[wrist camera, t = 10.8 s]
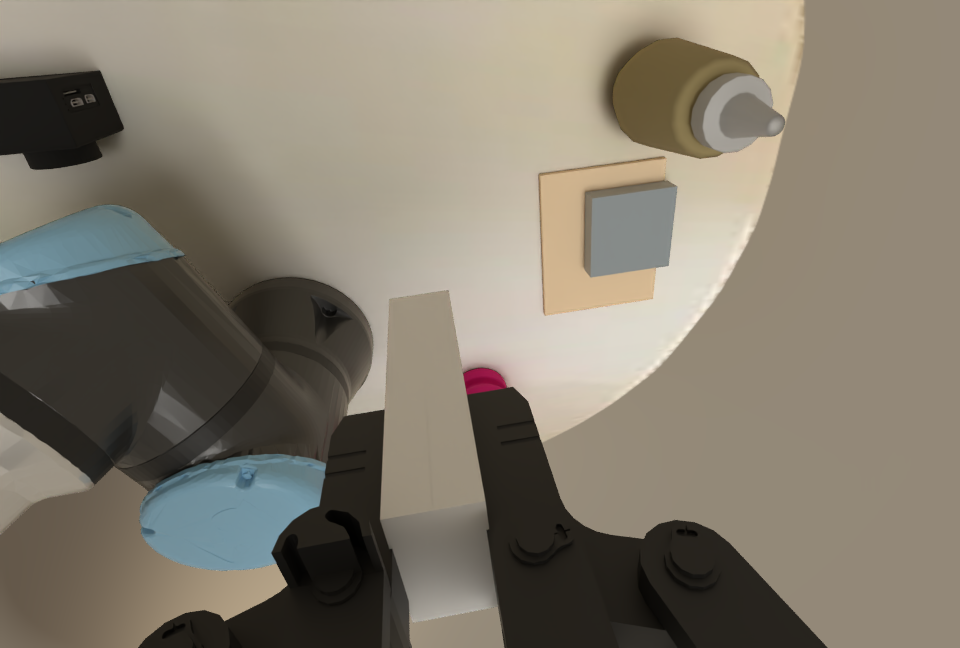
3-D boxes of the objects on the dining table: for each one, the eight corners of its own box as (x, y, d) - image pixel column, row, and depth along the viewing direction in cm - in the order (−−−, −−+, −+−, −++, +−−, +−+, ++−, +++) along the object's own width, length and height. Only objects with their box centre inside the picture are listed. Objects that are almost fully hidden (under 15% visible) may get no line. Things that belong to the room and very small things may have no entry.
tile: (590, 277, 49) (668, 265, 50) (592, 198, 45) (677, 186, 46) (583, 267, 51) (658, 256, 52) (584, 191, 47) (665, 179, 47)
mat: (543, 312, 54) (545, 315, 54) (538, 174, 46) (540, 175, 46) (650, 296, 55) (652, 298, 54) (663, 156, 47) (666, 158, 46)
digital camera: (-5, 157, 40) (-76, 181, 34) (-47, 82, 37) (-133, 94, 31) (132, 144, 41) (85, 166, 35) (100, 70, 38) (44, 79, 32)
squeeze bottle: (691, 121, 46) (837, 171, 30) (606, 150, 46) (709, 213, 31) (685, 22, 41) (852, 22, 26) (591, 55, 42) (702, 73, 26)
